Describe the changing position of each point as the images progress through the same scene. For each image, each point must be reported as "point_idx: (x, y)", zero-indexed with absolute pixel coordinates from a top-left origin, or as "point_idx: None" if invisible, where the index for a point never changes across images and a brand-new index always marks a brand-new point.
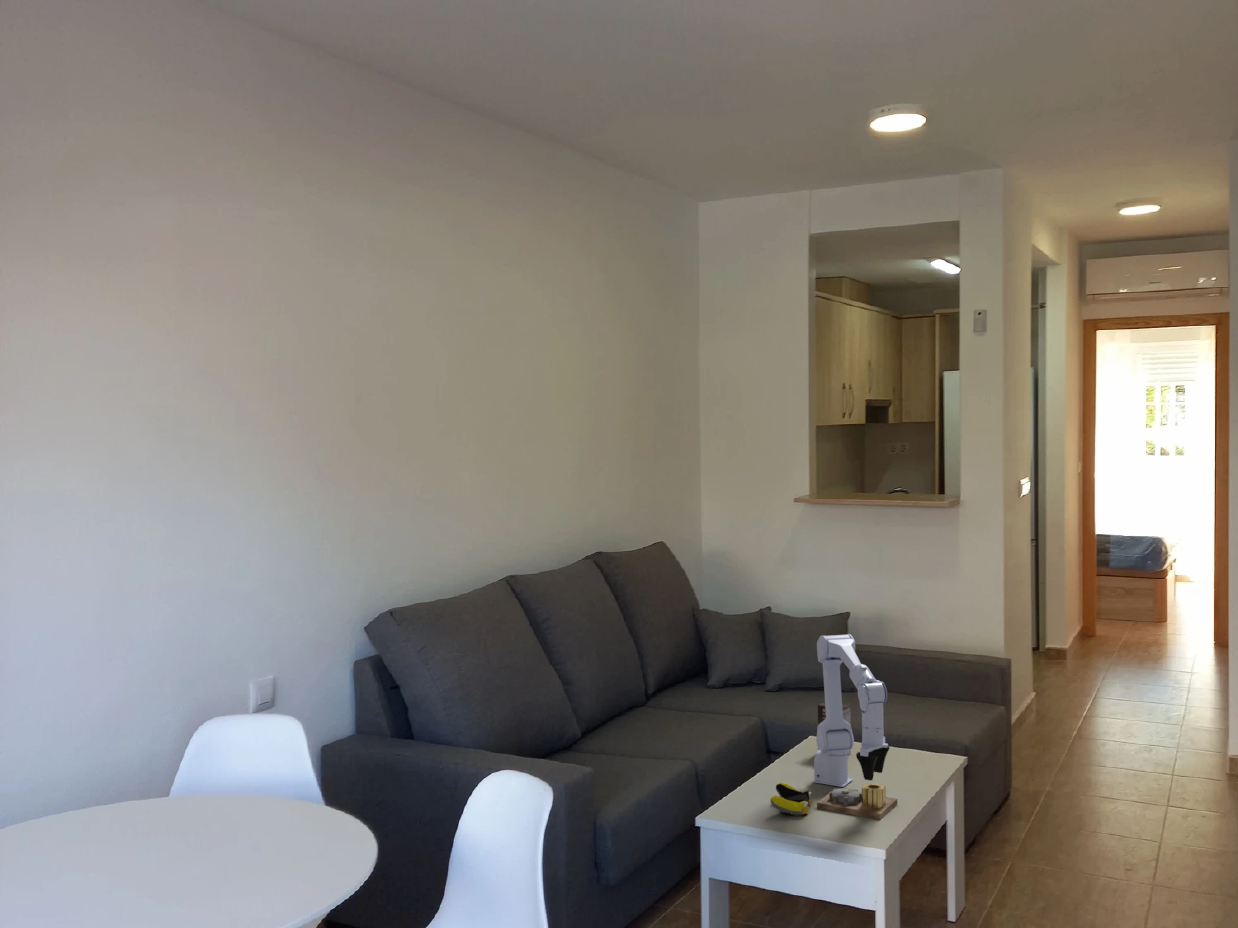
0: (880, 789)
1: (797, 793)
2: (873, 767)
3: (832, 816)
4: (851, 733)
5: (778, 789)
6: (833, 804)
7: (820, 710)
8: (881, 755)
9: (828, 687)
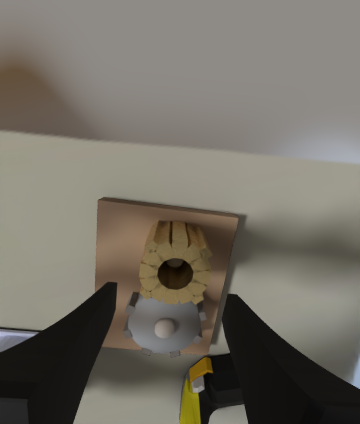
0: (197, 248)
1: (202, 403)
2: (277, 338)
3: None
4: None
5: None
6: (207, 325)
7: None
8: (75, 358)
9: None
